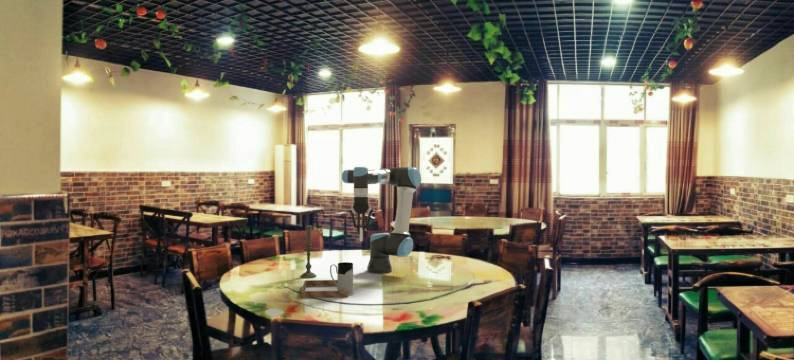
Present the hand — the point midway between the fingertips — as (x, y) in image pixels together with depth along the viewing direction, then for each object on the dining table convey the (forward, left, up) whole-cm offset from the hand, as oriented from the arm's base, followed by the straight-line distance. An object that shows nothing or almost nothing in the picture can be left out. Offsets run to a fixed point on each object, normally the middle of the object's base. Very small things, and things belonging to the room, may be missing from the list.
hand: (361, 240), depth 257 cm
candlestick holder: (+29, -26, -25) cm, 46 cm away
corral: (+18, +9, -24) cm, 32 cm away
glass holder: (+10, +13, -25) cm, 30 cm away
